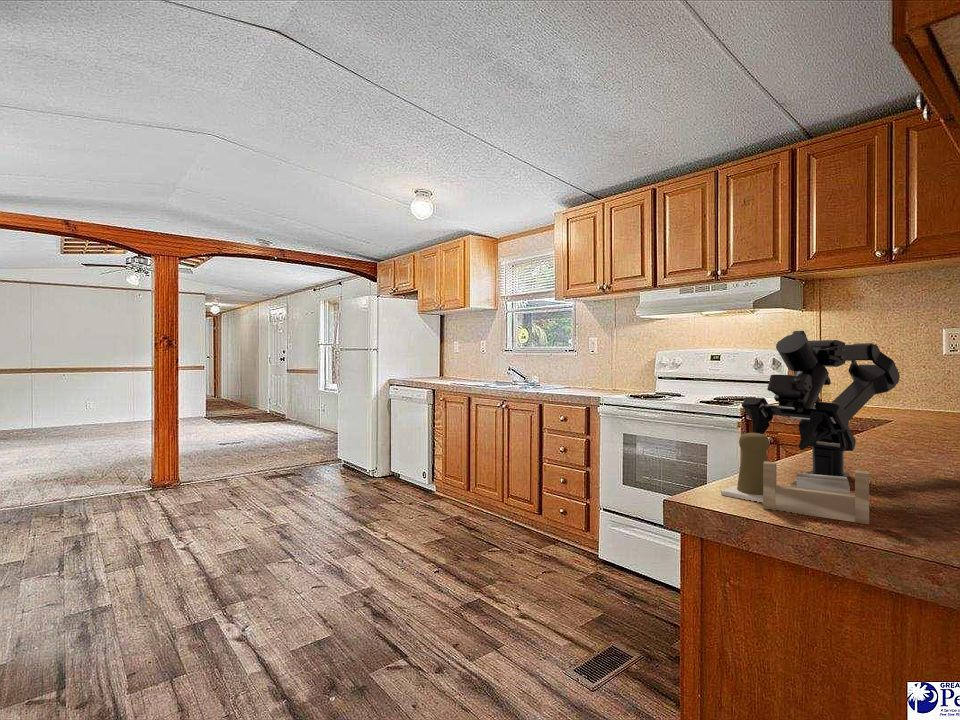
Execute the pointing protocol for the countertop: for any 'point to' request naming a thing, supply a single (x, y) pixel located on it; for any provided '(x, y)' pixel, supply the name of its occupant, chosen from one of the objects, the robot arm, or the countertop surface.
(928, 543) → the countertop surface
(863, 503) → the birch rack
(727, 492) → the ceramic pad
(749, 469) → the cork
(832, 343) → the robot arm
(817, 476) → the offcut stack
